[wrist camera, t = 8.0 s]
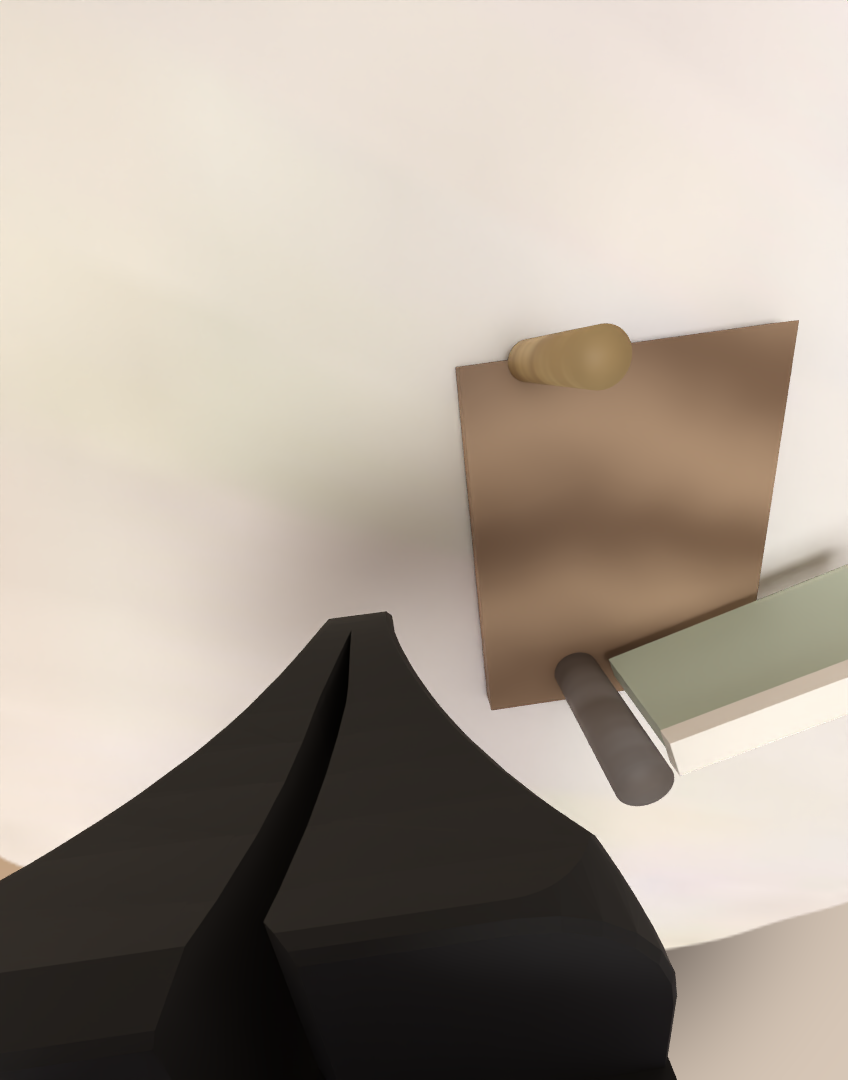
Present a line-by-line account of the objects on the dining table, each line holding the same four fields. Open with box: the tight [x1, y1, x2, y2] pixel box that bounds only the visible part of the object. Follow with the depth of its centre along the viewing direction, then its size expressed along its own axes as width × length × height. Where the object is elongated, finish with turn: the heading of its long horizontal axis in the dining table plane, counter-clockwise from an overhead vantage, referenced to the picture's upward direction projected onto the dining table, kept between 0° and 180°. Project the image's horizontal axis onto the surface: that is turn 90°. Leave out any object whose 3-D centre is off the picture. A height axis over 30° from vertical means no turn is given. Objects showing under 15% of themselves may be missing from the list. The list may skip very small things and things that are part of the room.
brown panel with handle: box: [456, 320, 799, 806], centre depth 16 cm, size 16×12×7 cm
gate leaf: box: [609, 564, 848, 776], centre depth 17 cm, size 11×2×5 cm, turn 114°
